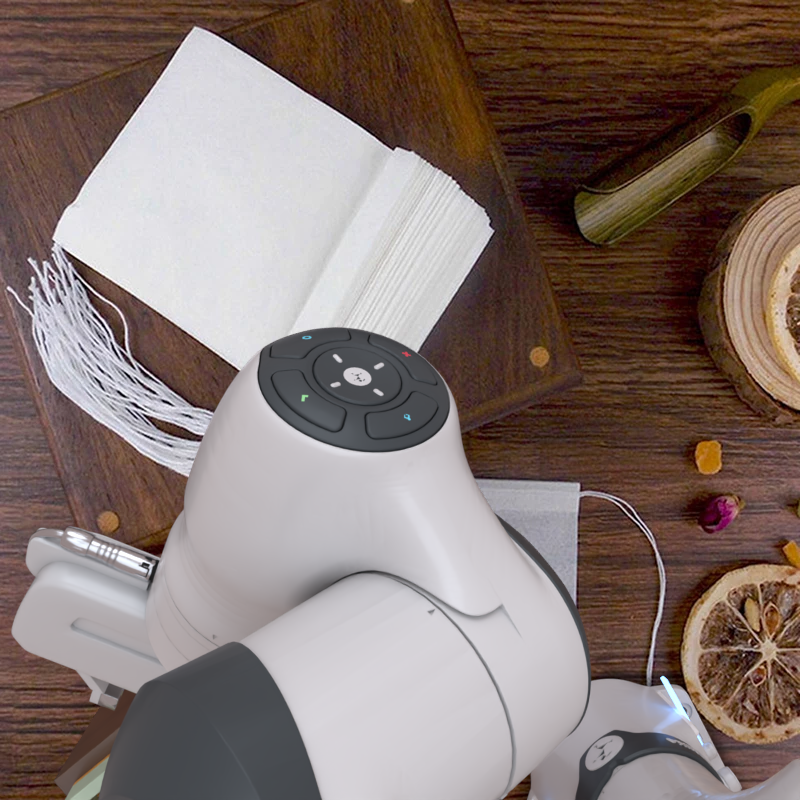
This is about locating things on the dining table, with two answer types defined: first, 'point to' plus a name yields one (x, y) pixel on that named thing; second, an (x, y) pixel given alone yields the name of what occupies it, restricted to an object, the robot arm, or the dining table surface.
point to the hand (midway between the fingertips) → (187, 725)
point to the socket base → (89, 783)
